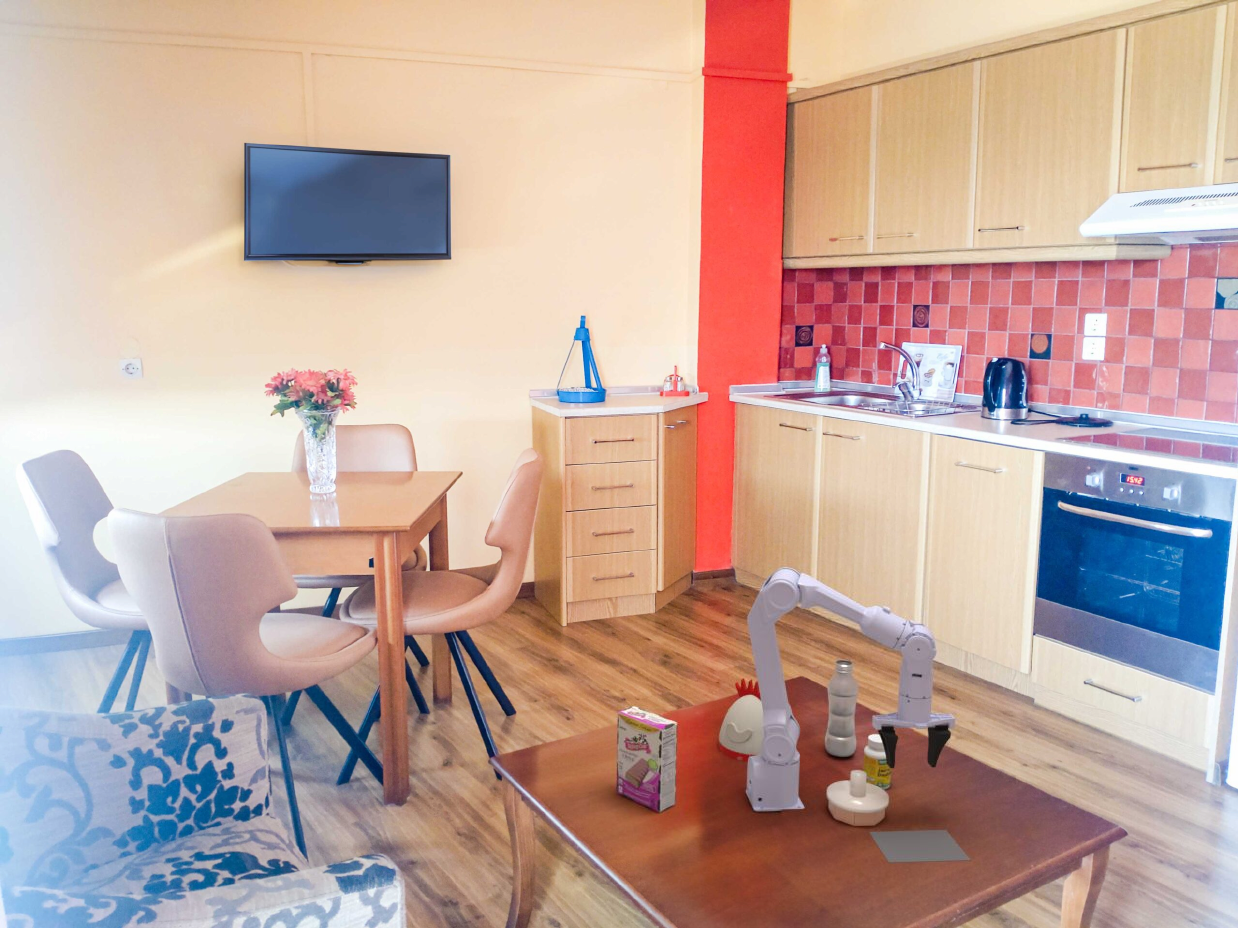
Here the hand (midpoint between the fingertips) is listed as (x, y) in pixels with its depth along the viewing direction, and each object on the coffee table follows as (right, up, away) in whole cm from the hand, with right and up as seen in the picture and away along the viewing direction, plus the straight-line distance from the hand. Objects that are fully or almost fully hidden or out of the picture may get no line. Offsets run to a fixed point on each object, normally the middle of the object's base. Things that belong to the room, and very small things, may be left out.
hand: (911, 765), depth 175 cm
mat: (-1, -12, -9) cm, 15 cm away
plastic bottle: (-6, -7, +29) cm, 30 cm away
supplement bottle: (-2, -9, +15) cm, 18 cm away
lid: (-9, -7, +2) cm, 11 cm away
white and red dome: (-25, -6, +31) cm, 40 cm away
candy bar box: (-48, -9, +8) cm, 49 cm away
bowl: (-9, -10, +3) cm, 14 cm away
